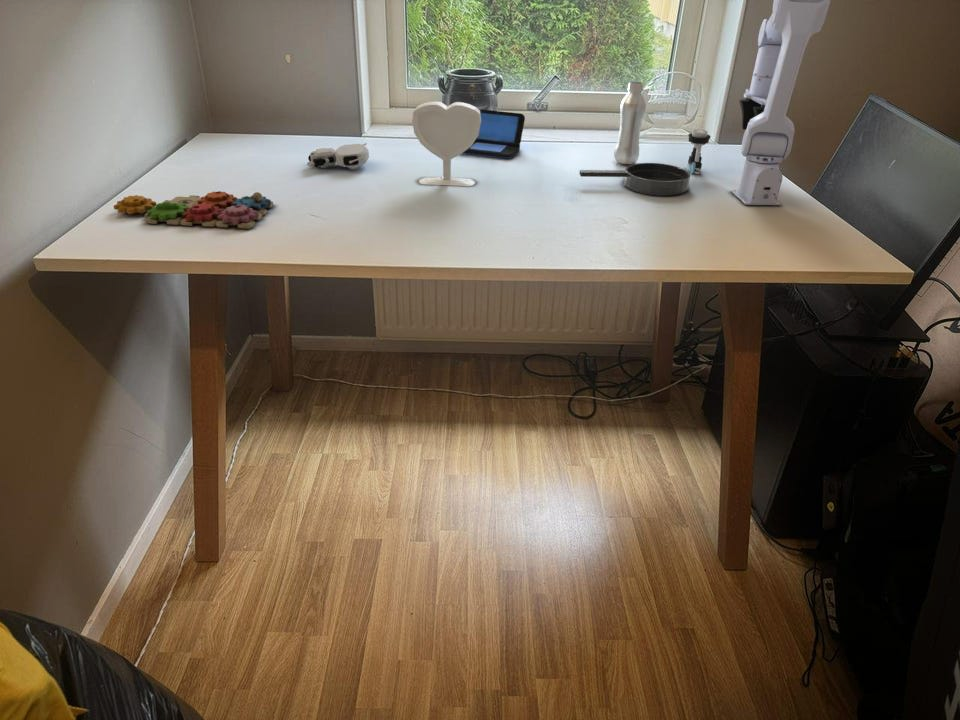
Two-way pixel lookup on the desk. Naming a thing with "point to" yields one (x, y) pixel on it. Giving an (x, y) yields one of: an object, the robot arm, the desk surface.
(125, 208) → the gear puzzle
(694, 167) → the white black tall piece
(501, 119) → the game console
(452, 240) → the desk surface
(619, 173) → the pan handle
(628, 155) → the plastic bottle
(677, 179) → the pan
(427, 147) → the heart sculpture
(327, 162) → the robot toy
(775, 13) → the robot arm
